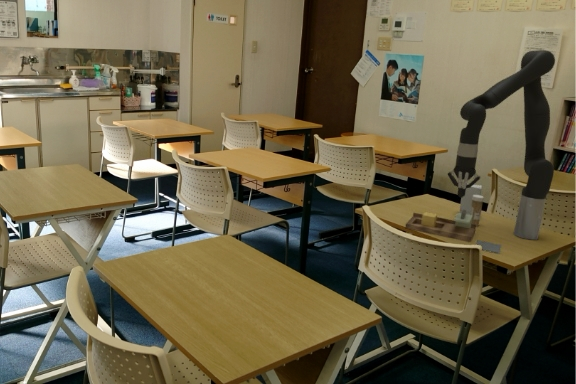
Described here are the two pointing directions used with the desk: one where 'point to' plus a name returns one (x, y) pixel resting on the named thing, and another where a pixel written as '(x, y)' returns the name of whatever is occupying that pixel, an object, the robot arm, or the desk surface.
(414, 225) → the puzzle board
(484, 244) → the mat
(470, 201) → the skincare box
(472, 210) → the sprinkles bottle
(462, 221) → the lock slider
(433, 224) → the block
